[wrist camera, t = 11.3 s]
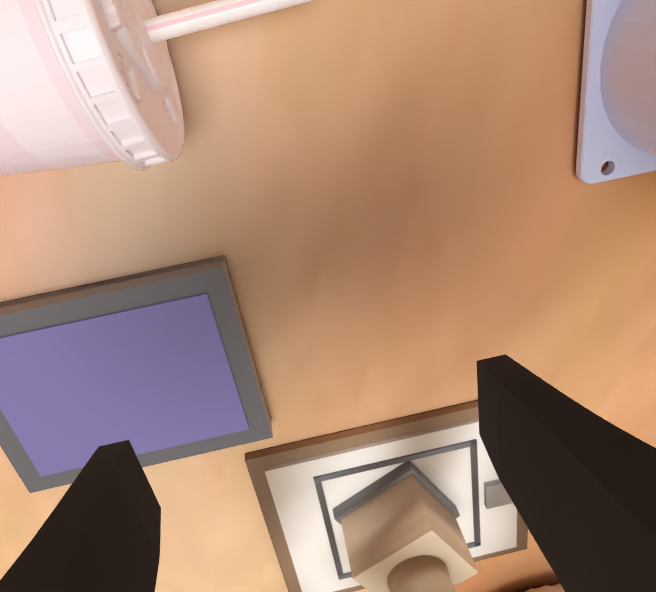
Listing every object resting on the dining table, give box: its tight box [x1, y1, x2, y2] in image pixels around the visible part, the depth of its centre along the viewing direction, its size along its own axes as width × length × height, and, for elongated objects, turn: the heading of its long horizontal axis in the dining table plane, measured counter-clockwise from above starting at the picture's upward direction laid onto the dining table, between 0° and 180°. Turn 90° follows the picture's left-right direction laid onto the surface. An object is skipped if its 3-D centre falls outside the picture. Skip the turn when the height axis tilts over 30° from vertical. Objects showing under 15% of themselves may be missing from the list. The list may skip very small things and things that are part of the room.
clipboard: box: [245, 400, 528, 592], centre depth 27 cm, size 14×11×1 cm
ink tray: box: [0, 256, 273, 493], centre depth 21 cm, size 10×8×1 cm
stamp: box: [333, 461, 478, 592], centre depth 25 cm, size 4×4×5 cm
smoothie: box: [0, 0, 314, 177], centre depth 14 cm, size 6×6×14 cm
